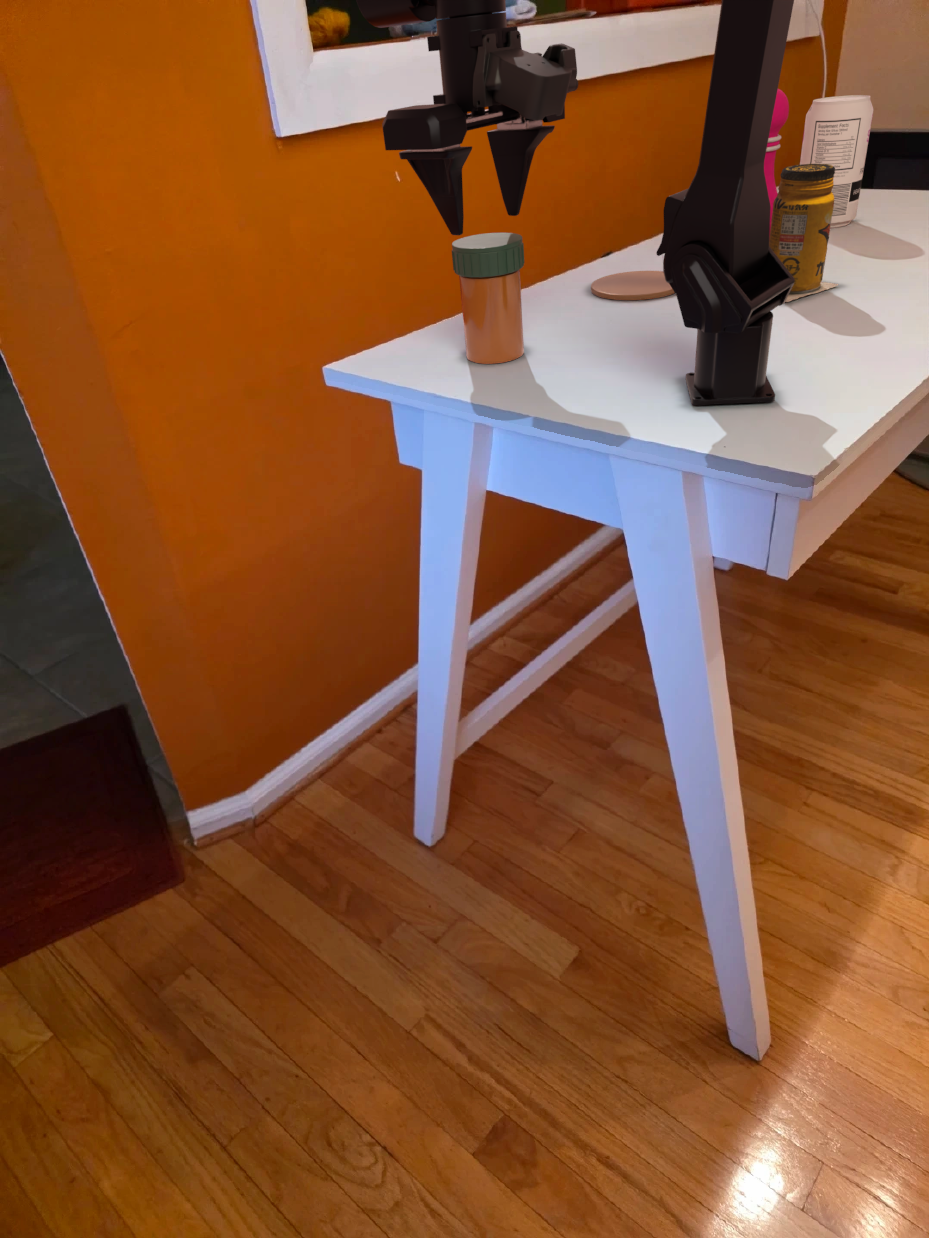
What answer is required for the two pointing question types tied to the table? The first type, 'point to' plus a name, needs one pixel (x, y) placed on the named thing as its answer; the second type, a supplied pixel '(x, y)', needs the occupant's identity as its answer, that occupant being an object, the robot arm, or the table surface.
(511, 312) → the jam jar
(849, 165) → the supplement can
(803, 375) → the table surface
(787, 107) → the pink bowling pin
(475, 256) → the jam lid
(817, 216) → the condiment
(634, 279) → the coaster
